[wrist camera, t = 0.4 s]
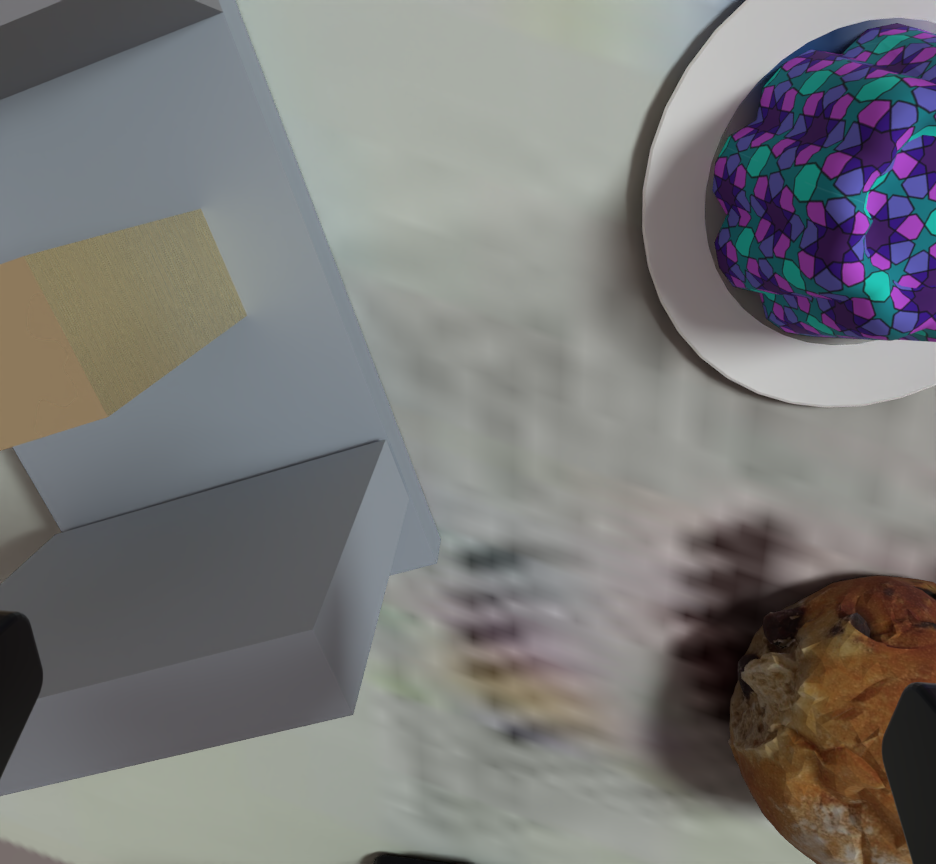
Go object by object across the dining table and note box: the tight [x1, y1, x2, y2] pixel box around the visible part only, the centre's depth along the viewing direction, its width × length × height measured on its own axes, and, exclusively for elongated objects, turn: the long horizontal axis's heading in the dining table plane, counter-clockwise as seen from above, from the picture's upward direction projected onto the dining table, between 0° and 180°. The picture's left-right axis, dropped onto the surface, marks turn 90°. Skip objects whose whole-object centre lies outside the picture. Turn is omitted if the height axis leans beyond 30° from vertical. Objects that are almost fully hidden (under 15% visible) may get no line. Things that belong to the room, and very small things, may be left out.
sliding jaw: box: [0, 439, 409, 796], centre depth 19 cm, size 2×11×9 cm, turn 108°
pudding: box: [642, 0, 936, 408], centre depth 19 cm, size 12×12×5 cm
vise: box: [0, 0, 441, 576], centre depth 20 cm, size 19×11×6 cm, turn 18°
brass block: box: [0, 209, 247, 451], centre depth 17 cm, size 3×6×8 cm, turn 108°
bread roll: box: [728, 576, 936, 864], centre depth 25 cm, size 10×10×8 cm
